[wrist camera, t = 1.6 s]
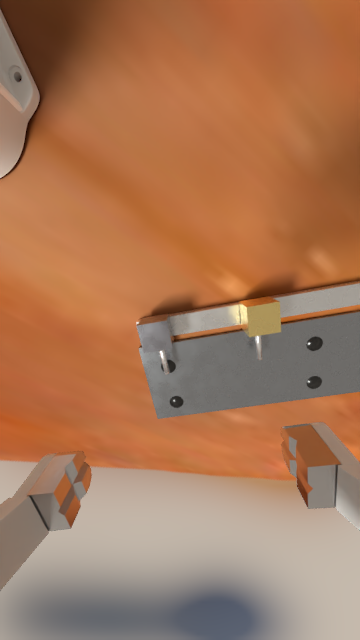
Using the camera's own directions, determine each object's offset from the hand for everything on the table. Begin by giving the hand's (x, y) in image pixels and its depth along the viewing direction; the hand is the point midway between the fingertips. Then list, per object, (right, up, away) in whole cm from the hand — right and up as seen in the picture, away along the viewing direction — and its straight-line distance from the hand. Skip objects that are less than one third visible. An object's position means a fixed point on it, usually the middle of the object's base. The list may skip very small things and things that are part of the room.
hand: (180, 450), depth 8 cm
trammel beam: (+11, +4, +22) cm, 25 cm away
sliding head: (+11, +4, +20) cm, 24 cm away
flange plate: (+12, -3, +24) cm, 27 cm away
